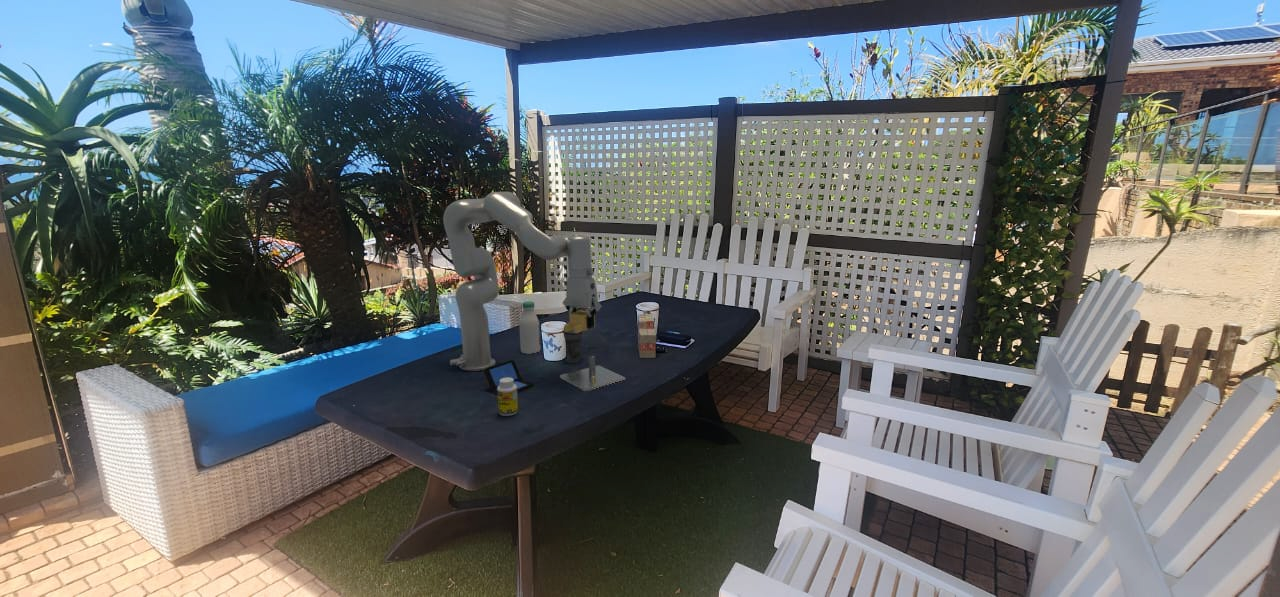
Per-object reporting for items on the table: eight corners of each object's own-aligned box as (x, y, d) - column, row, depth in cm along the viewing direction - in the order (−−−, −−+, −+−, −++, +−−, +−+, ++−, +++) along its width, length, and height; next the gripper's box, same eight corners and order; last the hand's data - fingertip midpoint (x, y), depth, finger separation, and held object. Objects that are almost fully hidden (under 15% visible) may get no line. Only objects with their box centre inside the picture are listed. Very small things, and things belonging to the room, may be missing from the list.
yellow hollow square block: (581, 324, 182) (580, 310, 181) (595, 326, 179) (594, 312, 178) (563, 331, 174) (562, 316, 173) (577, 333, 171) (577, 318, 170)
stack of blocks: (656, 358, 203) (656, 327, 200) (639, 358, 202) (639, 327, 200) (652, 341, 224) (652, 313, 221) (637, 342, 223) (637, 313, 221)
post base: (585, 391, 170) (584, 368, 168) (559, 377, 182) (559, 355, 181) (625, 380, 180) (625, 357, 178) (598, 367, 192) (598, 346, 190)
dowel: (592, 382, 175) (592, 376, 175) (590, 381, 176) (590, 375, 176) (596, 381, 176) (596, 375, 176) (593, 380, 177) (593, 374, 177)
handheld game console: (506, 398, 166) (504, 376, 164) (484, 390, 172) (482, 369, 170) (536, 386, 176) (535, 365, 174) (514, 379, 182) (513, 358, 180)
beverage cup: (582, 364, 196) (580, 311, 191) (562, 364, 196) (560, 311, 192) (584, 358, 203) (583, 307, 199) (565, 357, 203) (563, 307, 199)
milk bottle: (538, 354, 207) (536, 304, 203) (518, 354, 207) (515, 304, 203) (542, 348, 215) (540, 300, 211) (523, 348, 215) (520, 300, 211)
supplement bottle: (494, 415, 153) (492, 381, 151) (506, 407, 158) (504, 375, 156) (511, 418, 151) (508, 384, 149) (522, 410, 156) (520, 377, 154)
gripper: (608, 273, 173) (610, 326, 177) (566, 270, 182) (569, 321, 186) (594, 277, 167) (597, 332, 171) (552, 273, 176) (555, 326, 179)
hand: (582, 326), depth 178 cm, fingers closed on yellow hollow square block, 6 cm apart
